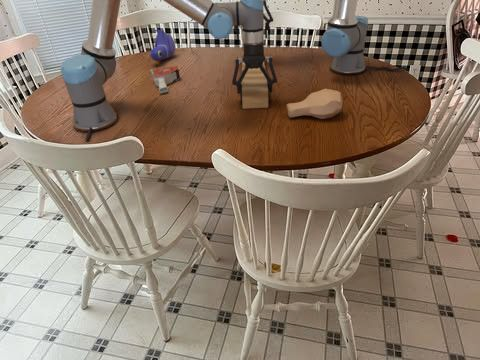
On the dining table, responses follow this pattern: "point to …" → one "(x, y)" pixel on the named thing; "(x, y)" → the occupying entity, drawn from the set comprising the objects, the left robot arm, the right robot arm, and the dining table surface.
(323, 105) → the squash
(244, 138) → the dining table surface
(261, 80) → the slab
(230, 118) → the dining table surface
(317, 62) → the dining table surface
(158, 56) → the toy
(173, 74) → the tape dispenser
